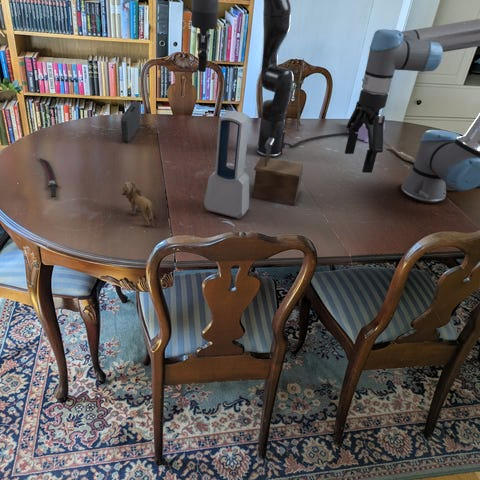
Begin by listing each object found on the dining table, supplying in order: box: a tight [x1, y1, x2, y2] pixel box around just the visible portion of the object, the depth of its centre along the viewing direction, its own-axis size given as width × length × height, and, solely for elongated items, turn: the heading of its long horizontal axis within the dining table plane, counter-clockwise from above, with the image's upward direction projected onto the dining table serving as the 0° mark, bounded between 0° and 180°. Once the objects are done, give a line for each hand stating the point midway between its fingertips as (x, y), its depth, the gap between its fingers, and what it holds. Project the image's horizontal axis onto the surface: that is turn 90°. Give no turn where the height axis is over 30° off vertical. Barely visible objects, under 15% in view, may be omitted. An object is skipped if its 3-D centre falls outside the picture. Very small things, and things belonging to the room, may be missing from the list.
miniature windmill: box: [285, 58, 305, 131], centre depth 208 cm, size 9×8×30 cm
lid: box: [253, 137, 305, 178], centre depth 148 cm, size 14×10×9 cm
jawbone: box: [388, 145, 416, 164], centre depth 195 cm, size 9×20×2 cm, turn 50°
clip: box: [352, 123, 386, 143], centre depth 214 cm, size 20×12×7 cm, turn 11°
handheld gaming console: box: [120, 101, 141, 143], centre depth 188 cm, size 23×3×10 cm, turn 178°
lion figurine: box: [119, 181, 159, 227], centre depth 134 cm, size 15×5×9 cm, turn 50°
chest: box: [252, 168, 304, 206], centre depth 153 cm, size 14×10×10 cm
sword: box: [40, 158, 59, 198], centre depth 151 cm, size 31×3×1 cm, turn 26°
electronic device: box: [203, 110, 251, 220], centre depth 135 cm, size 12×8×30 cm, turn 71°
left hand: (202, 68), depth 142 cm, fingers open, 8 cm apart
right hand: (357, 162), depth 140 cm, fingers open, 13 cm apart
